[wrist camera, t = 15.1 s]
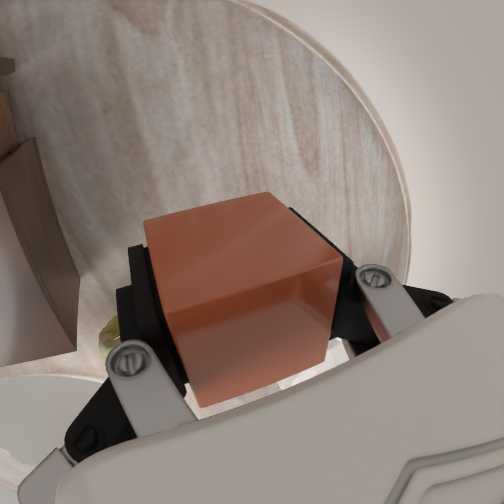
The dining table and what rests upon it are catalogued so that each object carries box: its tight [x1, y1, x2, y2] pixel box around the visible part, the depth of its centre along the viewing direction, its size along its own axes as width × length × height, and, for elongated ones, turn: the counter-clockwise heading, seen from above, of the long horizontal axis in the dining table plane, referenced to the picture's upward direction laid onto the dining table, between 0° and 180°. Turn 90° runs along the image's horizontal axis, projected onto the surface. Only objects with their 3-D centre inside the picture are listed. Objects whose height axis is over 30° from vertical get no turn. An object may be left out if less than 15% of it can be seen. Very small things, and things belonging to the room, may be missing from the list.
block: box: [143, 192, 343, 408], centre depth 10 cm, size 4×4×4 cm
